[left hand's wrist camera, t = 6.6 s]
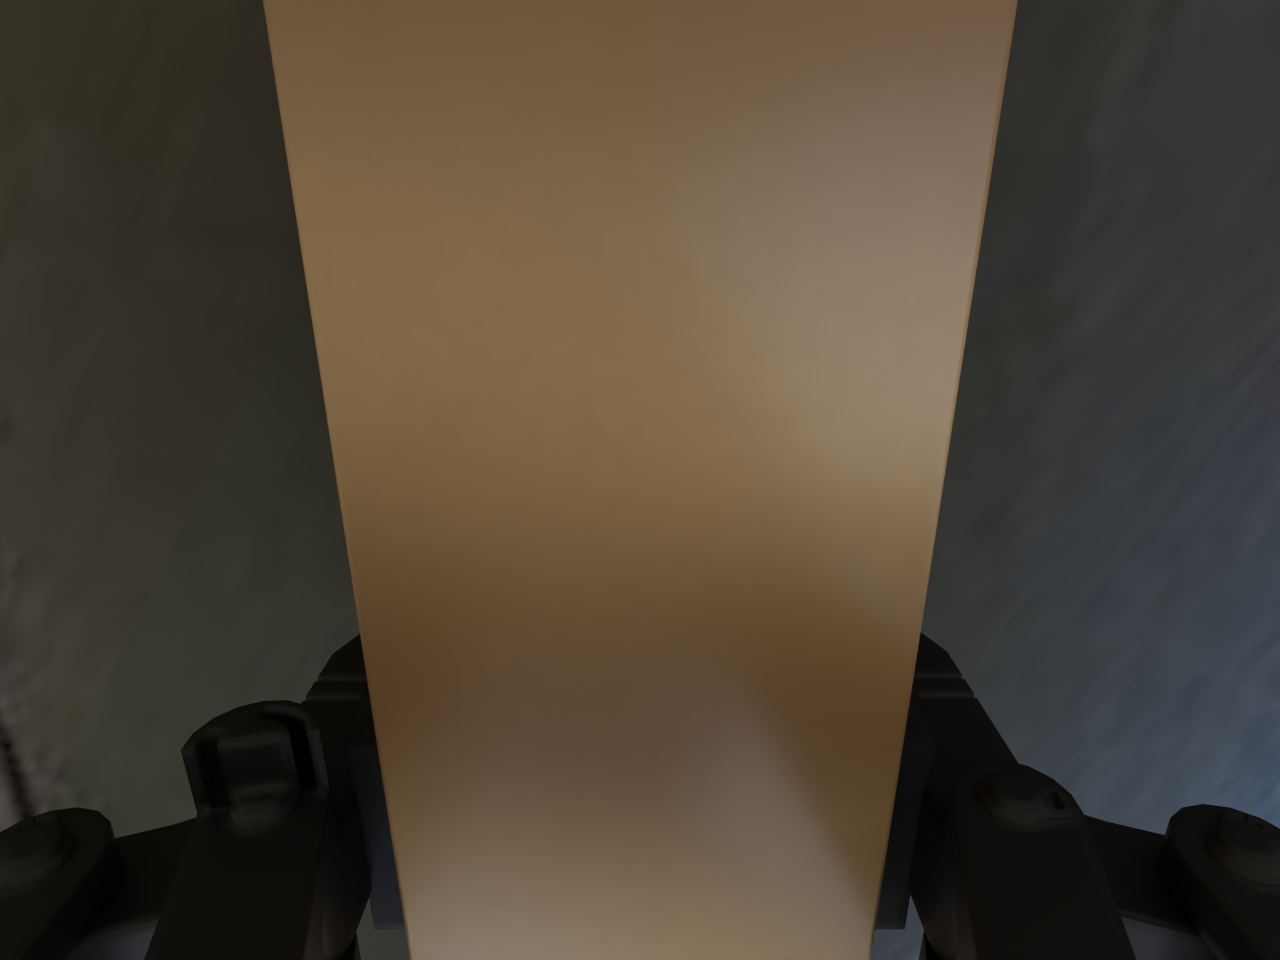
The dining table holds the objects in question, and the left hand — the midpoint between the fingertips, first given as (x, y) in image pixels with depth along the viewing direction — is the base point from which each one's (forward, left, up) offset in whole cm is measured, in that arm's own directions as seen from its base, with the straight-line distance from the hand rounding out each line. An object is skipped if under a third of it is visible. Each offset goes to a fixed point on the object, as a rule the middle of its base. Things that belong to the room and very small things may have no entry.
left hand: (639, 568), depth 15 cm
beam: (+3, +28, -1) cm, 28 cm away
